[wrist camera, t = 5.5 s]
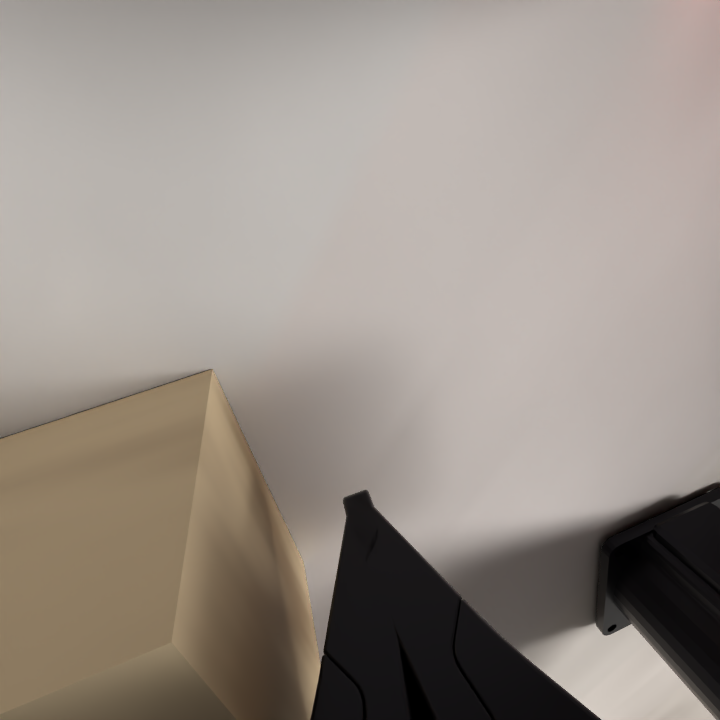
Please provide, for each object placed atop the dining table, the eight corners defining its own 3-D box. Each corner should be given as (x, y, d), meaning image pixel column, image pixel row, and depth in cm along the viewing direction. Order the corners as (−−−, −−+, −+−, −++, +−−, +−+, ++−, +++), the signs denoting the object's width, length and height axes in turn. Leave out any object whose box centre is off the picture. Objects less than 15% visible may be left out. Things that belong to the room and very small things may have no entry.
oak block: (303, 563, 12) (352, 857, 7) (66, 660, 11) (-91, 1091, 6) (212, 368, 9) (171, 642, 4) (-133, 482, 8) (-875, 1080, 3)
